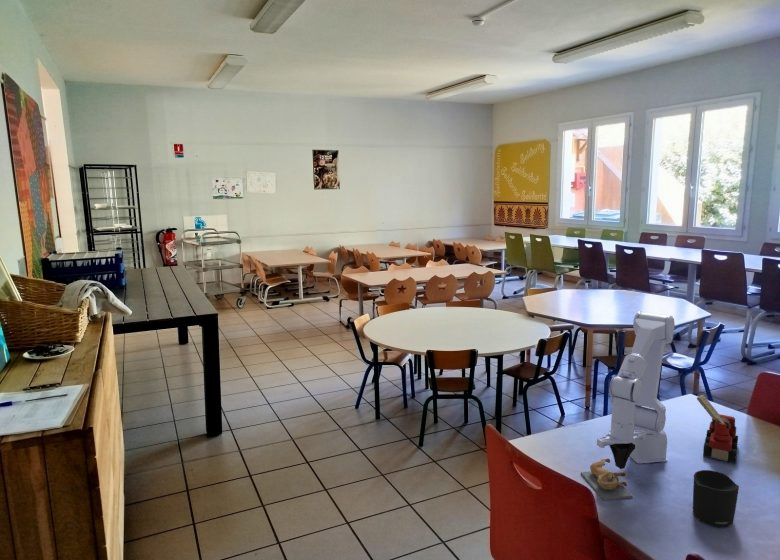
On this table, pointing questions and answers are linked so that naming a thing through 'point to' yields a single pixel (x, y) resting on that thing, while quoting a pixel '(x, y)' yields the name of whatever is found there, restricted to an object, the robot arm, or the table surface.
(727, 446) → the toy fire truck
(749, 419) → the table surface
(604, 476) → the lion figurine
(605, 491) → the rubber mat
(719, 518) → the pen holder
